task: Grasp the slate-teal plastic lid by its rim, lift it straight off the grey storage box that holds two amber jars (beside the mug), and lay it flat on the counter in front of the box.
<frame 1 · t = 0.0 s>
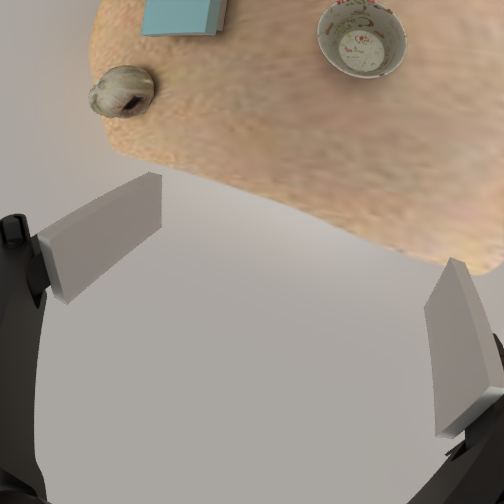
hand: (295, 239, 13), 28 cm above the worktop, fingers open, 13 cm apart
mug: (361, 35, 28), on the worktop
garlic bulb: (142, 89, 41), on the worktop
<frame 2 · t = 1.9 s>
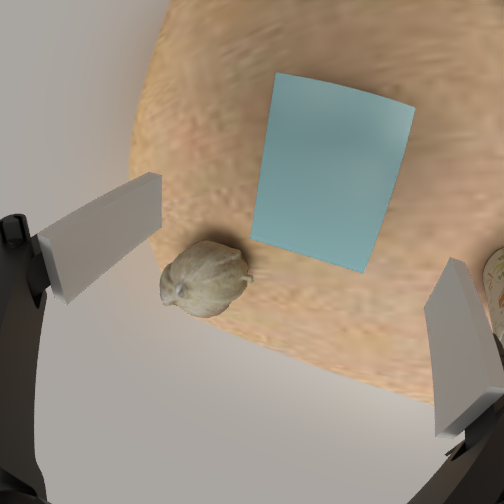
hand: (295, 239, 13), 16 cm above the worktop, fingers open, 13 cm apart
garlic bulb: (224, 258, 36), on the worktop
lid: (330, 168, 22), point 4 cm above the worktop, touching box
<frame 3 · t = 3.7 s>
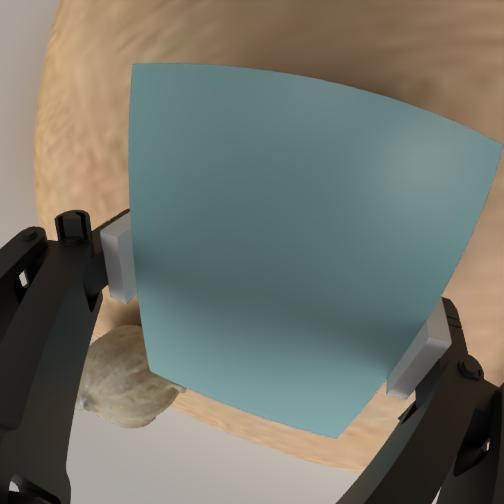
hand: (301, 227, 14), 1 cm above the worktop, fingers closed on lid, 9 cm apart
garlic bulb: (158, 340, 25), on the worktop
lid: (285, 262, 11), point 5 cm above the worktop, touching box, gripper
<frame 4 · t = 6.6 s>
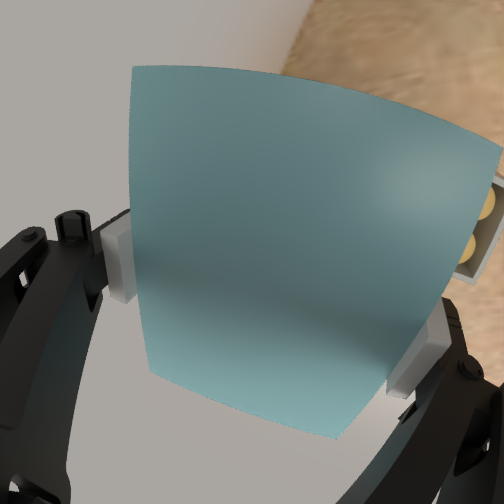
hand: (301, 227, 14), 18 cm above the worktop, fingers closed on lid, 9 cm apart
box: (454, 203, 26), on the worktop
lid: (284, 263, 11), point 21 cm above the worktop, touching gripper
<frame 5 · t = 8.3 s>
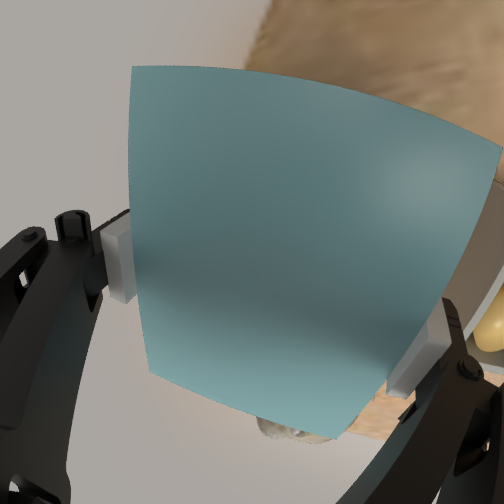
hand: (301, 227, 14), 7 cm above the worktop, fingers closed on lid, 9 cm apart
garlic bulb: (324, 357, 27), on the worktop
box: (495, 258, 17), on the worktop
lid: (284, 263, 11), point 10 cm above the worktop, touching gripper
when the fingers open (0 cm above the worktop, at t = 9.8 s): lid drops 4 cm, on the worktop.
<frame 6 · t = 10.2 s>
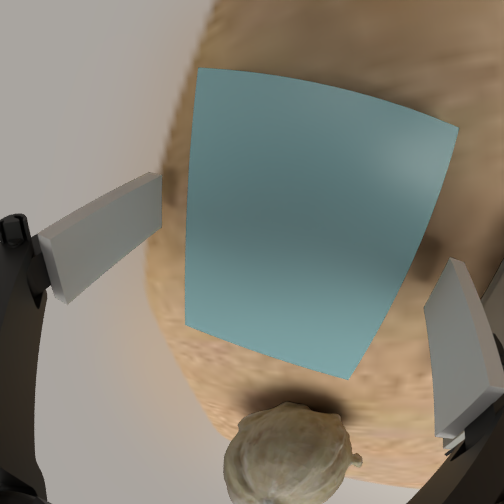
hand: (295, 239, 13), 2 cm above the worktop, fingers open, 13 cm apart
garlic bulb: (307, 412, 22), on the worktop
lid: (304, 223, 14), on the worktop
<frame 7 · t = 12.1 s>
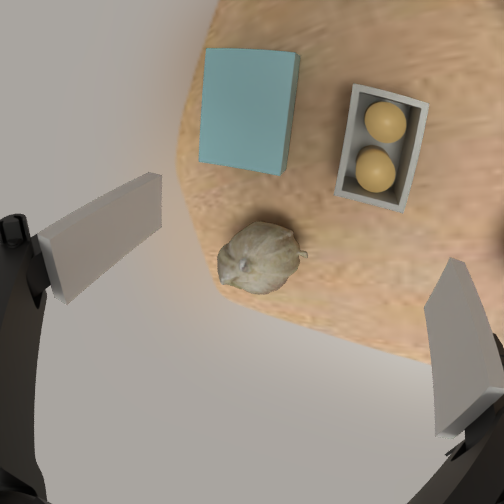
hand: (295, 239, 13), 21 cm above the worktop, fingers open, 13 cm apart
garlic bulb: (273, 240, 38), on the worktop
box: (377, 140, 28), on the worktop
lid: (251, 107, 30), on the worktop
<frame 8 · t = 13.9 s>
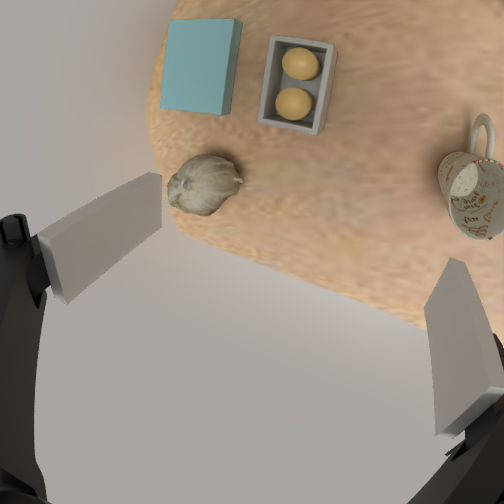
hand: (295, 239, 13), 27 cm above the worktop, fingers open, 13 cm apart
mug: (460, 158, 30), on the worktop
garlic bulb: (220, 176, 42), on the worktop
box: (304, 84, 32), on the worktop
lid: (203, 65, 35), on the worktop
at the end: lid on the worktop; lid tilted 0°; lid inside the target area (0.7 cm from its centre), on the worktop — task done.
